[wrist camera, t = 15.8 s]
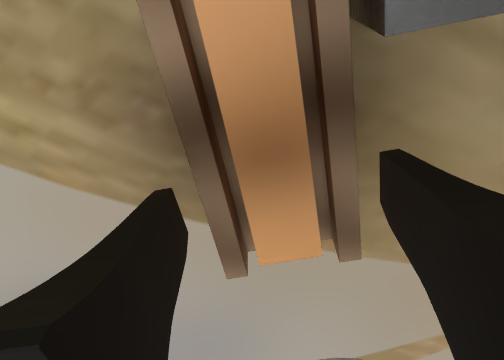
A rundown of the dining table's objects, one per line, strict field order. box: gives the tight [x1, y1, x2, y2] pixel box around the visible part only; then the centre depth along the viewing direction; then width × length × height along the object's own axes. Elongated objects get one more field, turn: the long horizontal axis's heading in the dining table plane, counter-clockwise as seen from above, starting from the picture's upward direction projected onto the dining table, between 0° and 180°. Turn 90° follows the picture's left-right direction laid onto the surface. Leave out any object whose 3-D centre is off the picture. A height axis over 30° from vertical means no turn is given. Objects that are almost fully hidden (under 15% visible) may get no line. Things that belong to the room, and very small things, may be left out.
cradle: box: [136, 0, 361, 279], centre depth 17 cm, size 20×8×3 cm, turn 11°
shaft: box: [193, 0, 322, 265], centre depth 16 cm, size 16×3×3 cm, turn 11°
